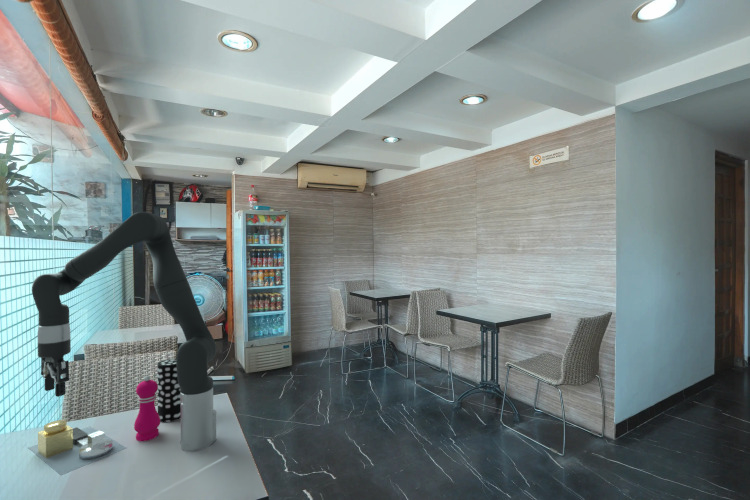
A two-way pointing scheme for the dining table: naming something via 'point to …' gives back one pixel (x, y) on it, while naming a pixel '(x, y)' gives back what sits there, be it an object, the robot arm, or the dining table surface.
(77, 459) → the mat
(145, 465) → the dining table surface
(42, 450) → the brass knob block
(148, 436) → the pepper mill
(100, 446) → the metal ladle
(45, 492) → the dining table surface
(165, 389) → the spotted tube
